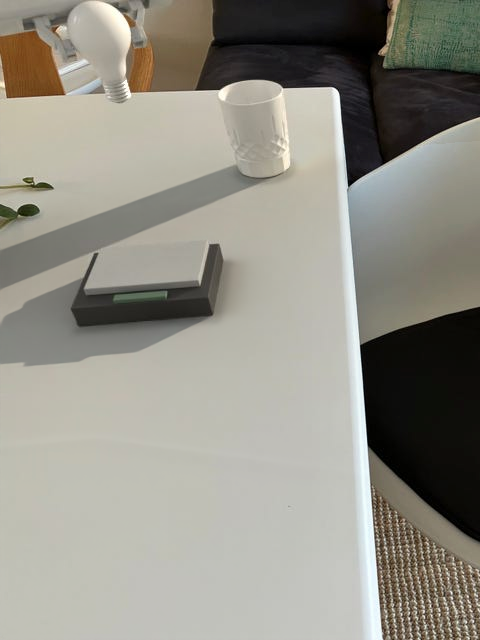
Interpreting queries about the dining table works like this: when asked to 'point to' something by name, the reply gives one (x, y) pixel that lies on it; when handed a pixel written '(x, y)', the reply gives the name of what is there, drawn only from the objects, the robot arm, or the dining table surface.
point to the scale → (149, 283)
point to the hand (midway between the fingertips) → (106, 52)
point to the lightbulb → (102, 44)
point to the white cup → (256, 126)
